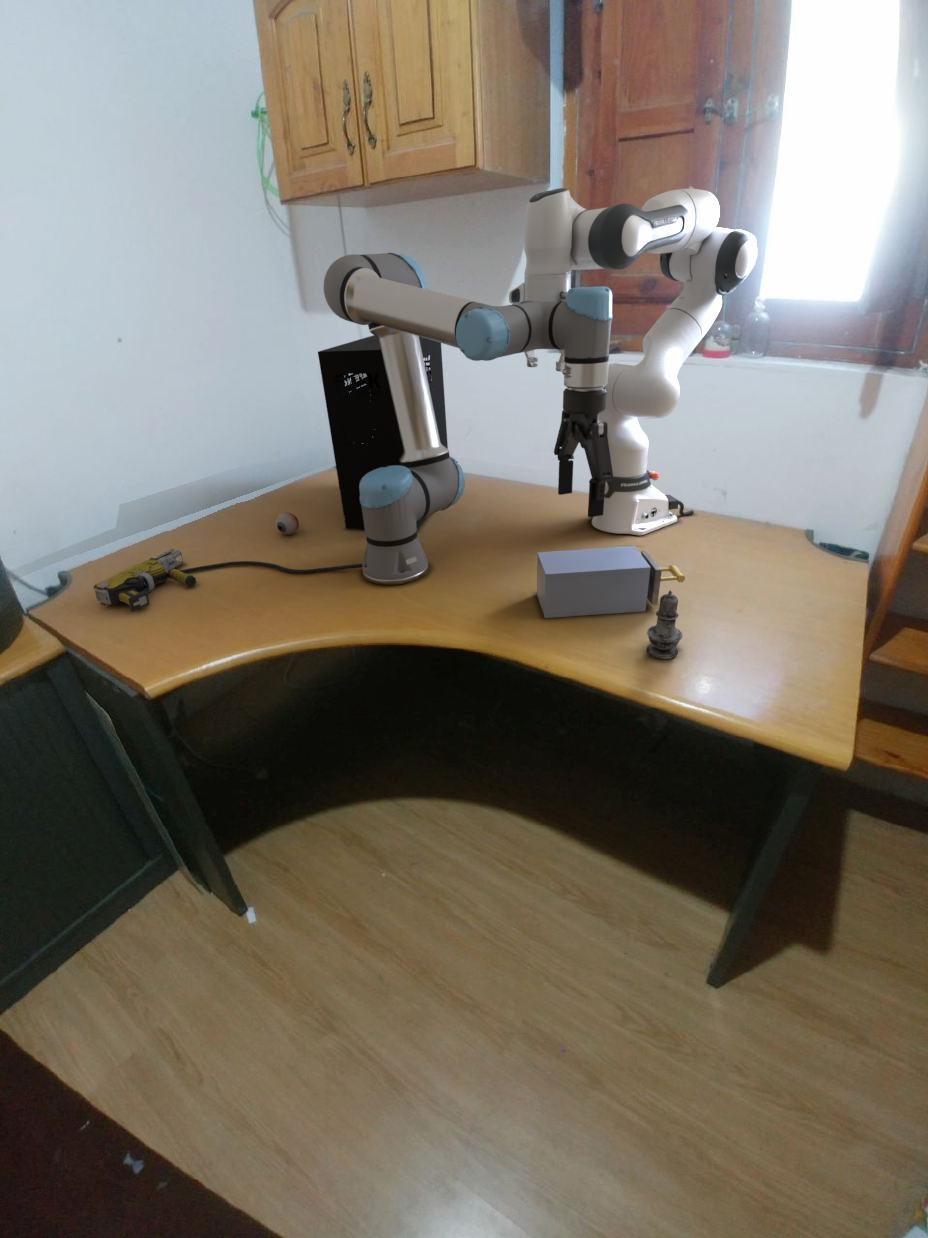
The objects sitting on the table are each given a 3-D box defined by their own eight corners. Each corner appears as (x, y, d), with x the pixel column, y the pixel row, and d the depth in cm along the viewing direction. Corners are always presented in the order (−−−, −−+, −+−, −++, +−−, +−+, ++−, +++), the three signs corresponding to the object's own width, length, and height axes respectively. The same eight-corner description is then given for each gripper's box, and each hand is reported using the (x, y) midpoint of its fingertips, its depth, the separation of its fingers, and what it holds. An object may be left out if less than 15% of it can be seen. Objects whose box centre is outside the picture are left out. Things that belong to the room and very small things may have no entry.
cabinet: (630, 587, 128) (634, 545, 123) (645, 611, 119) (650, 567, 114) (536, 594, 128) (537, 552, 123) (544, 618, 119) (545, 574, 114)
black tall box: (415, 531, 162) (398, 349, 139) (345, 528, 166) (317, 351, 144) (450, 487, 193) (440, 332, 171) (390, 485, 198) (373, 335, 175)
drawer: (669, 582, 127) (674, 548, 123) (685, 602, 119) (691, 567, 116) (554, 590, 127) (555, 556, 123) (563, 611, 119) (564, 576, 115)
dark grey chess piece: (681, 660, 104) (691, 599, 98) (646, 658, 105) (653, 597, 99) (678, 642, 108) (687, 583, 102) (644, 640, 110) (651, 581, 104)
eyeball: (273, 537, 164) (268, 516, 161) (287, 528, 169) (282, 508, 166) (291, 539, 161) (286, 518, 158) (305, 530, 166) (301, 510, 163)
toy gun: (219, 557, 146) (169, 546, 150) (142, 598, 126) (87, 585, 129) (222, 574, 148) (172, 563, 152) (147, 618, 128) (92, 604, 132)
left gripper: (538, 379, 115) (537, 487, 126) (597, 401, 94) (590, 529, 105) (574, 375, 116) (570, 483, 127) (641, 396, 96) (629, 523, 106)
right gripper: (597, 290, 109) (593, 371, 116) (528, 291, 125) (528, 362, 132) (570, 292, 107) (567, 376, 114) (503, 293, 122) (505, 366, 129)
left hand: (579, 504), depth 116 cm, fingers open, 13 cm apart
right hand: (546, 368), depth 123 cm, fingers open, 8 cm apart
